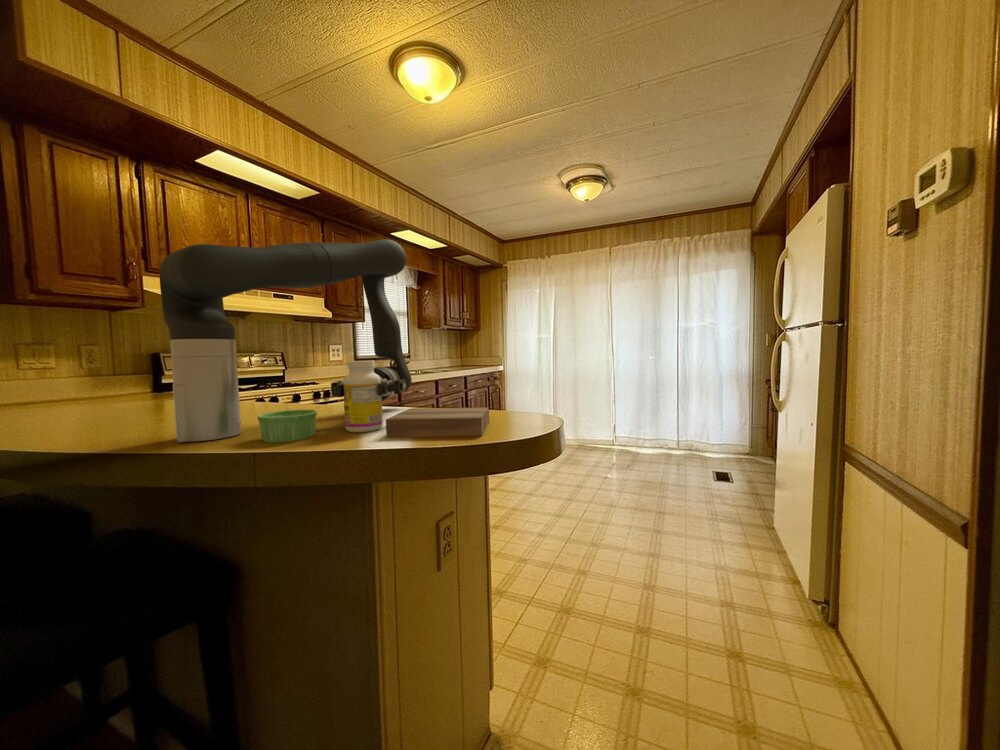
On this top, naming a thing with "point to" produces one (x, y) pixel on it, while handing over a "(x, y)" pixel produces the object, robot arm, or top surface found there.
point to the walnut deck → (438, 422)
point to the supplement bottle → (362, 398)
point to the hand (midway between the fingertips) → (359, 390)
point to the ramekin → (287, 425)
